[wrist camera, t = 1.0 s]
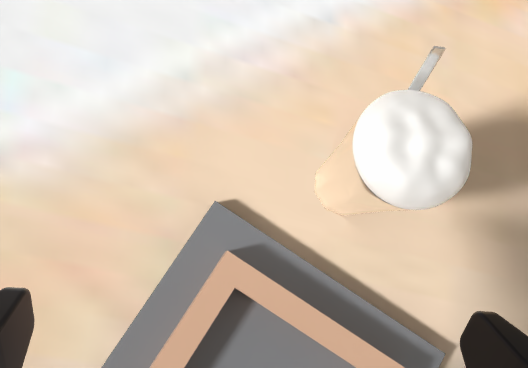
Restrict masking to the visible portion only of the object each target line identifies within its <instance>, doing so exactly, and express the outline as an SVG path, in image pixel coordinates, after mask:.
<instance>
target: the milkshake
mask: <svg viewBox="0 0 528 368" xmlns="http://www.w3.org/2000/svg"><path fill="white" fill-rule="evenodd" d="M444 51H445V47H438V46H434V47H433V48H432V49H431V51H430V53H429V54H428V56H427V58H426V59H425V61H424V63H423V65H422V66H421V68H420V70H419V71H418V73H417V75H416V76H415V78H414V80H413V81H412V83H411V85H410V86H409V88H408V90H398V91H393V92H389V93H386V94H384V95H382V96H380V97H379V98H377V99H376V100H375V101H373V102H372V103H371V104H370V105H369V106H368V107H367V108H366V109H365V110H364V112H363V113H362V114H361V116H360V117H359V118H358V120H357V121H356V122H355V124H354V125H353V126H352V128H351V129H350V130H349V132H348V133H347V135H346V136H345V138H344V139H343V141H342V142H341V144H340V145H339V146H338V147H337V148H336V149H335V150H334V151H333V153H332V154H331V155H330V156H329V157H328V158H327V160H326V161H325V162H324V163H323V165H322V166H321V167H320V168H319V169H318V171H317V172H316V173H315V190H314V192H315V194H316V195H317V197H318V198H319V200H320V202H321V203H322V205H323V206H324V208H325V209H328V210H330V211H332V212H335V213H337V214H339V215H342V216H344V215H354V214H363V213H372V212H383V211H408V210H424V209H429V208H433V207H436V206H438V205H440V204H442V203H444V202H446V201H447V200H449V199H450V198H452V197H453V196H454V195H455V194H457V193H458V192H459V191H460V189H461V188H462V187H463V186H464V184H465V182H466V181H467V179H468V176H469V173H470V168H471V158H472V138H471V135H470V133H469V131H468V129H467V128H466V126H465V125H464V124H463V122H462V121H461V120H460V118H459V117H458V115H457V114H456V112H455V111H454V109H453V108H452V107H451V106H450V105H449V104H448V103H446V102H445V101H443V100H442V99H440V98H438V97H436V96H434V95H431V94H428V93H425V92H421V91H420V90H421V88H422V86H423V85H424V83H425V82H426V80H427V78H428V77H429V75H430V73H431V72H432V70H433V69H434V67H435V65H436V64H437V62H438V61H439V59H440V57H441V56H442V54H443V53H444Z"/></svg>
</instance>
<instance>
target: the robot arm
mask: <svg viewBox="0 0 528 368" xmlns="http://www.w3.org/2000/svg"><path fill="white" fill-rule="evenodd" d="M33 329H34V314H33V307H32V300H31V294H30V292H29V290H28V289H26V288H11V287H7V288H4V289H2V290H0V368H22V366H23V362H24V359H25V356H26V353H27V349H28V346H29V343H30V339H31V336H32V333H33ZM460 348H461V352H462V355H463V359H464V362H465V365H466V368H528V336H527V335H525V334H524V333H523V332H521V331H520V330H519V329H517V328H516V327H514V326H513V325H512V324H510V323H509V322H508V321H506V320H505V319H504V318H502V317H501V316H500V315H498V314H497V313H494V312H484V311H477V312H475V313H474V314H473V315H472V316H471V318H470V320H469V322H468V324H467V326H466V328H465V330H464V331H463V333H462V335H461V338H460Z"/></svg>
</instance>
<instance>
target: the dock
mask: <svg viewBox="0 0 528 368" xmlns="http://www.w3.org/2000/svg"><path fill="white" fill-rule="evenodd" d="M444 356H445V353H443V352H442V351H440V350H439V349H437V348H436V347H434V346H433V345H431V344H430V343H428V342H427V341H425V340H424V339H422V338H421V337H419V336H418V335H416V334H415V333H413V332H412V331H410V330H409V329H407V328H406V327H404V326H403V325H401V324H400V323H398V322H397V321H395V320H394V319H392V318H391V317H389V316H388V315H386V314H385V313H383V312H382V311H380V310H379V309H377V308H376V307H374V306H373V305H371V304H370V303H368V302H367V301H365V300H364V299H362V298H361V297H359V296H358V295H356V294H355V293H353V292H352V291H350V290H349V289H347V288H346V287H344V286H343V285H341V284H340V283H338V282H337V281H335V280H334V279H332V278H331V277H329V276H328V275H326V274H325V273H323V272H322V271H320V270H319V269H317V268H316V267H314V266H313V265H311V264H310V263H308V262H307V261H305V260H304V259H302V258H301V257H299V256H297V255H296V254H294V253H293V252H291V251H290V250H288V249H287V248H285V247H284V246H282V245H281V244H279V243H278V242H276V241H275V240H273V239H272V238H270V237H269V236H267V235H266V234H264V233H263V232H261V231H260V230H258V229H257V228H255V227H254V226H252V225H251V224H249V223H248V222H246V221H245V220H243V219H242V218H240V217H239V216H237V215H236V214H234V213H233V212H231V211H230V210H228V209H227V208H225V207H224V206H222V205H221V204H219V203H218V202H216V201H215V202H214V203H213V205H212V206H211V208H210V209H209V211H208V212H207V213H206V215H205V216H204V218H203V219H202V221H201V222H200V224H199V225H198V227H197V228H196V230H195V231H194V233H193V234H192V236H191V237H190V238H189V240H188V241H187V243H186V244H185V246H184V247H183V249H182V250H181V252H180V253H179V255H178V256H177V258H176V259H175V260H174V262H173V263H172V265H171V266H170V268H169V269H168V271H167V272H166V274H165V275H164V277H163V278H162V280H161V281H160V283H159V284H158V285H157V287H156V288H155V290H154V291H153V293H152V294H151V296H150V297H149V299H148V300H147V302H146V303H145V305H144V306H143V308H142V309H141V310H140V312H139V313H138V315H137V316H136V318H135V319H134V321H133V322H132V324H131V325H130V327H129V328H128V330H127V331H126V332H125V334H124V335H123V337H122V338H121V340H120V341H119V343H118V344H117V346H116V347H115V349H114V350H113V352H112V353H111V355H110V356H109V357H108V359H107V360H106V362H105V363H104V365H103V366H102V368H439V366H440V364H441V362H442V360H443V358H444Z"/></svg>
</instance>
